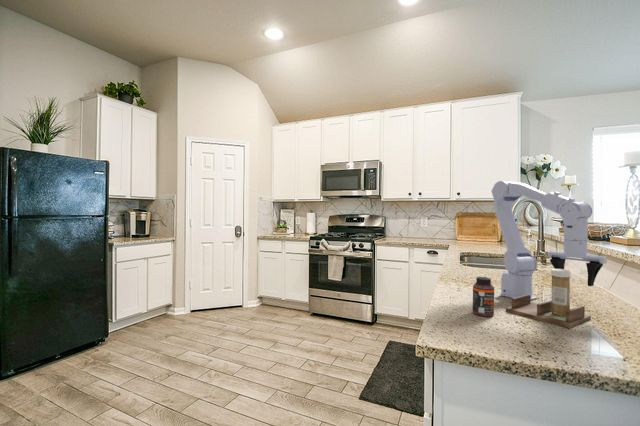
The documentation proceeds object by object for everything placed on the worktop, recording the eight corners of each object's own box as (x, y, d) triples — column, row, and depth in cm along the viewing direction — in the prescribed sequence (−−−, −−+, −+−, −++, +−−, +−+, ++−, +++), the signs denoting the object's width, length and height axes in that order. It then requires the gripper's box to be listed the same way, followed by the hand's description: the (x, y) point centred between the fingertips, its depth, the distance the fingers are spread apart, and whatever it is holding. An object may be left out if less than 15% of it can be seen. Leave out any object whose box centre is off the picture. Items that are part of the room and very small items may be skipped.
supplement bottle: (486, 318, 92) (486, 280, 92) (468, 312, 98) (468, 277, 98) (498, 315, 95) (498, 278, 95) (480, 310, 100) (480, 275, 100)
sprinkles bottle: (573, 315, 92) (573, 270, 92) (565, 317, 90) (565, 271, 90) (556, 311, 96) (556, 267, 96) (547, 313, 94) (547, 268, 94)
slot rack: (505, 311, 99) (505, 298, 99) (528, 304, 106) (528, 292, 106) (569, 328, 85) (569, 313, 85) (590, 319, 92) (590, 305, 92)
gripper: (610, 241, 93) (610, 286, 93) (554, 237, 106) (554, 277, 106) (601, 242, 90) (601, 289, 90) (544, 238, 102) (544, 279, 102)
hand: (575, 283), depth 98 cm, fingers open, 7 cm apart
